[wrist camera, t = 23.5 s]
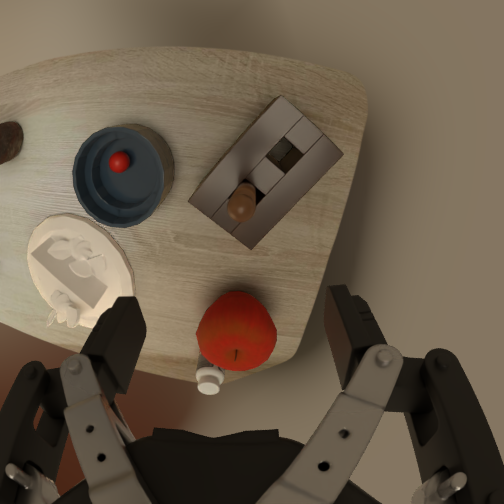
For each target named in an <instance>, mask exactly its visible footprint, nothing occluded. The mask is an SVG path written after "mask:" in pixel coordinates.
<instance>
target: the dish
mask: <svg viewBox="0 0 504 504" xmlns="http://www.w3.org/2000/svg"><path fill="white" fill-rule="evenodd" d="M27 262H28V266H29V269H30V273H31V277H32V280H33V282H34V283H35V285H36V287H37V289H38V291H39V292H40V294H41V296H42V297H43V298H44V299H45V300H46V302H47V303H48V304H49V305H50V306H51V308H52V310H53V311H52V312H51V313H50V314H49V316H48V318H47V327H49V326H50V325H51V324H52V322H53V321H54V319H55V317H56V319H57V321H58V323H61V322H64V321H66V320H67V326H68V327H70V328H72V327H75V326H77V325H78V324H79V325H81V326H84V327H87V328H94V326H95V325H96V322H97V321H98V319H99V317H100V315H101V314H102V313H103V312H105V311H106V310H107V309H108V308H112V306H113V304H114V302H115V301H116V299H117V297H119V296H135V284H134V276H133V271H132V269H131V267H130V264H129V262H128V260H127V258H126V256H125V253H124V251H123V250H122V249H121V248H120V246H119V245H118V244H117V243H116V242H115V240H114V239H113V238H112V237H111V236H110V234H109V233H108V232H107V231H105V230H104V229H102V228H101V227H99V226H98V225H96V224H95V223H94V222H92V221H91V220H89V219H88V218H84V217H80V216H76V215H73V214H69V213H66V214H60V215H54V216H50V217H49V218H47V219H46V220H45V221H43V222H42V223H41V224H40V225H38V226H37V227H36V228H35V229H34V231H33V233H32V235H31V238H30V240H29V242H28V256H27Z"/></svg>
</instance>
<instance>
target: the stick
mask: <svg viewBox="0 0 504 504" xmlns="http://www.w3.org/2000/svg"><path fill="white" fill-rule="evenodd" d="M255 210H256V187H255V186H254V185H253V184H252V183H250V182H249V181H248V180H247V179H244V180H243V181H242V182H241V184H240V185H239V186H238V188H237V189H236V191H235V192H234V194H233V195H232V197H231V198H230V200H229V201H228V204H227V212H228V214H229V216H230V217H231V218H232V219H233V220H235V221H237V222H245V221H248V220H249V219H251V218H252V217H253V215H254V213H255Z"/></svg>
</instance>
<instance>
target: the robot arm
mask: <svg viewBox="0 0 504 504" xmlns="http://www.w3.org/2000/svg"><path fill="white" fill-rule="evenodd" d="M324 326H325V331H326V334H327V337H328V341H329V344H330V348H331V351H332V355H333V358H334V362H335V365H336V369H337V373H338V376H339V380H340V384H341V387H342V390H344V392H341V393H340V394H339V395H338V396H337V398H336V399H335V401H334V403H333V404H332V406H331V408H330V409H329V411H328V412H327V414H326V415H325V417H324V418H323V420H322V421H321V423H320V424H319V426H318V427H317V429H316V430H315V432H314V433H313V435H312V436H311V437H310V439H309V440H308V442H307V443H306V445H304V444H302V443H300V442H297V441H295V440H292V439H288V438H282V437H279V432H278V429H274V430H255V431H243V432H239V433H235V434H231V435H226V436H221V437H216V438H211V437H207V436H203V435H199V434H195V433H192V432H188V431H185V430H178V429H165V428H154V430H153V435H152V436H147V437H143V438H140V439H137V440H135V438H134V436H133V435H132V433H131V431H130V429H129V427H128V425H127V423H126V421H125V419H124V417H123V415H122V413H121V411H120V410H119V407H118V405H117V402H116V401H115V399H114V397H115V394H116V393H119V394H126V393H127V389H128V386H129V383H130V380H131V377H132V374H133V372H134V369H135V366H136V363H137V360H138V357H139V354H140V351H141V349H142V346H143V343H144V340H145V338H146V323H145V321H144V318H143V315H142V312H141V309H140V306H139V303H138V300H137V298H136V297H135V296H119V297H117V299H116V301H115V302H114V304H113V306H112V308H108V309H107V310H106V311H105V312H103V313H102V314H101V315H100V317H99V319H98V321H97V322H96V325H95V326H94V328H93V330H92V332H91V333H90V335H89V337H88V339H87V340H86V342H85V344H84V346H83V348H82V350H81V352H80V354H75V355H72V356H70V357H68V358H67V359H66V360H65V361H64V362H63V363H62V364H61V367H60V368H55V369H48V370H46V368H45V367H44V365H43V364H42V363H41V362H39V361H31V362H29V363H27V364H26V365H24V366H23V367H22V369H21V370H20V372H19V374H18V376H17V378H16V380H15V382H14V384H13V386H12V388H11V390H10V392H9V394H8V396H7V398H6V400H5V402H4V404H3V407H2V409H1V411H0V504H382V503H380V502H379V501H377V500H376V499H375V498H373V497H372V496H370V495H369V494H367V493H366V492H365V491H364V490H362V489H361V488H360V487H358V486H357V485H356V484H354V483H353V482H352V481H351V480H349V478H350V476H351V474H352V473H353V471H354V469H355V467H356V466H357V464H358V462H359V461H360V459H361V457H362V455H363V453H364V451H365V450H366V448H367V446H368V444H369V442H370V440H371V438H372V436H373V434H374V432H375V430H376V428H377V426H378V424H379V422H380V419H381V417H382V415H383V413H384V411H388V412H404V416H405V419H406V422H407V426H408V429H409V433H410V436H411V440H412V444H413V448H414V451H415V455H416V459H417V463H418V467H419V472H420V476H421V480H422V485H421V486H419V487H418V489H416V491H415V492H414V494H413V497H412V504H504V465H503V462H502V459H501V456H500V453H499V450H498V447H497V445H496V442H495V440H494V437H493V434H492V432H491V429H490V427H489V425H488V422H487V420H486V417H485V415H484V413H483V410H482V408H481V406H480V404H479V402H478V399H477V397H476V395H475V393H474V391H473V389H472V386H471V384H470V382H469V381H468V378H467V376H466V374H465V372H464V370H463V368H462V367H461V365H460V363H459V361H458V359H457V357H456V356H455V355H454V354H453V353H452V352H450V351H448V350H446V349H441V348H438V349H433V350H431V351H429V352H428V353H427V355H426V356H425V359H422V358H408V357H403V356H402V355H401V353H400V352H399V351H398V350H397V349H396V348H394V347H392V346H390V345H388V344H387V342H386V340H385V338H384V336H383V334H382V332H381V330H380V328H379V326H378V324H377V322H376V320H375V318H374V316H373V314H372V313H371V310H370V308H369V306H368V304H367V302H366V301H365V300H363V299H362V298H361V297H360V296H359V295H355V296H351V295H350V293H349V291H348V288H347V286H346V285H344V284H343V285H333V286H327V289H326V299H325V309H324ZM39 406H40V407H41V408H42V409H43V410H44V411H43V413H42V416H41V418H40V421H39V424H38V427H37V429H36V431H35V429H34V426H33V421H34V417H35V415H36V413H37V410H38V408H39ZM68 433H70V436H71V439H72V442H73V445H74V448H75V451H76V454H77V457H78V459H79V462H80V465H81V468H82V470H83V473H84V475H85V479H83V480H82V481H81V482H79V483H78V484H77V485H76V486H74V487H73V488H71V489H70V490H69V491H67V492H66V493H65V494H63V495H62V496H61V497H60V495H59V494H58V492H57V488H56V485H55V481H56V477H57V473H58V469H59V465H60V461H61V457H62V453H63V450H64V447H65V443H66V440H67V436H68Z"/></svg>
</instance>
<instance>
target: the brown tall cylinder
mask: <svg viewBox="0 0 504 504" xmlns="http://www.w3.org/2000/svg"><path fill="white" fill-rule="evenodd" d="M22 140H23V132H22V130H21V128H20V127H19V125H18V124H17V123H15V122H5V123H1V124H0V164H3V163H5V162H7V161H10V160H12V159H13V158H14V157H15V156H16V155H17V154H18V152H19V150H20V147H21V143H22Z"/></svg>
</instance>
